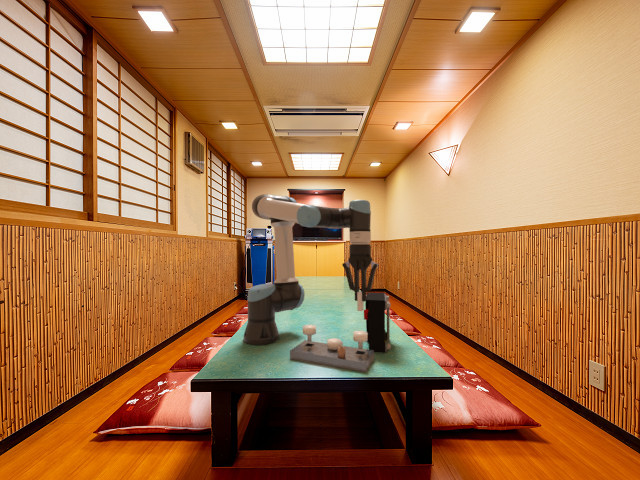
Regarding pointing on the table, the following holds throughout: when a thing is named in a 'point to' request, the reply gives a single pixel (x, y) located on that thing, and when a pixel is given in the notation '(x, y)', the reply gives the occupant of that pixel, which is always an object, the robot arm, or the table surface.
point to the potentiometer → (341, 351)
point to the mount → (333, 356)
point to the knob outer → (360, 338)
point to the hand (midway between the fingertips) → (360, 310)
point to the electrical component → (377, 321)
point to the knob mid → (333, 343)
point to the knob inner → (309, 331)
